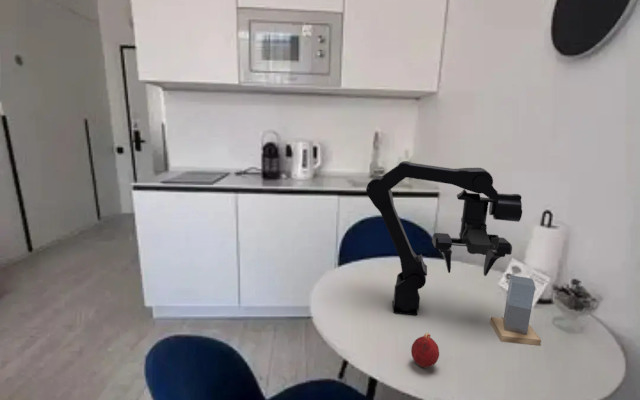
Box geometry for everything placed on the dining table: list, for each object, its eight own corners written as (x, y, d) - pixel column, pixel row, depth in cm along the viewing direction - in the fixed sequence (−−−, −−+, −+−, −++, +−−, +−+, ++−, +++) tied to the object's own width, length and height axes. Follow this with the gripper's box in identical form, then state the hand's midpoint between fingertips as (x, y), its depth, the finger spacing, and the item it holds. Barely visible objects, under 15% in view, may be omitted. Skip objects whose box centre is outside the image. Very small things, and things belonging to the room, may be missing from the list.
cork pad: (501, 341, 91) (502, 335, 91) (490, 321, 100) (490, 316, 100) (540, 345, 90) (541, 339, 90) (525, 325, 99) (526, 320, 99)
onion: (432, 379, 77) (437, 345, 75) (406, 369, 80) (409, 336, 78) (440, 364, 82) (444, 332, 80) (414, 355, 85) (418, 323, 83)
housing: (504, 330, 93) (512, 282, 91) (503, 320, 98) (510, 275, 95) (526, 335, 92) (535, 286, 89) (524, 325, 96) (532, 278, 93)
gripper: (442, 223, 89) (435, 283, 92) (525, 229, 86) (515, 290, 90) (434, 212, 99) (429, 266, 103) (508, 216, 97) (499, 272, 100)
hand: (466, 273), depth 99 cm, fingers open, 9 cm apart
